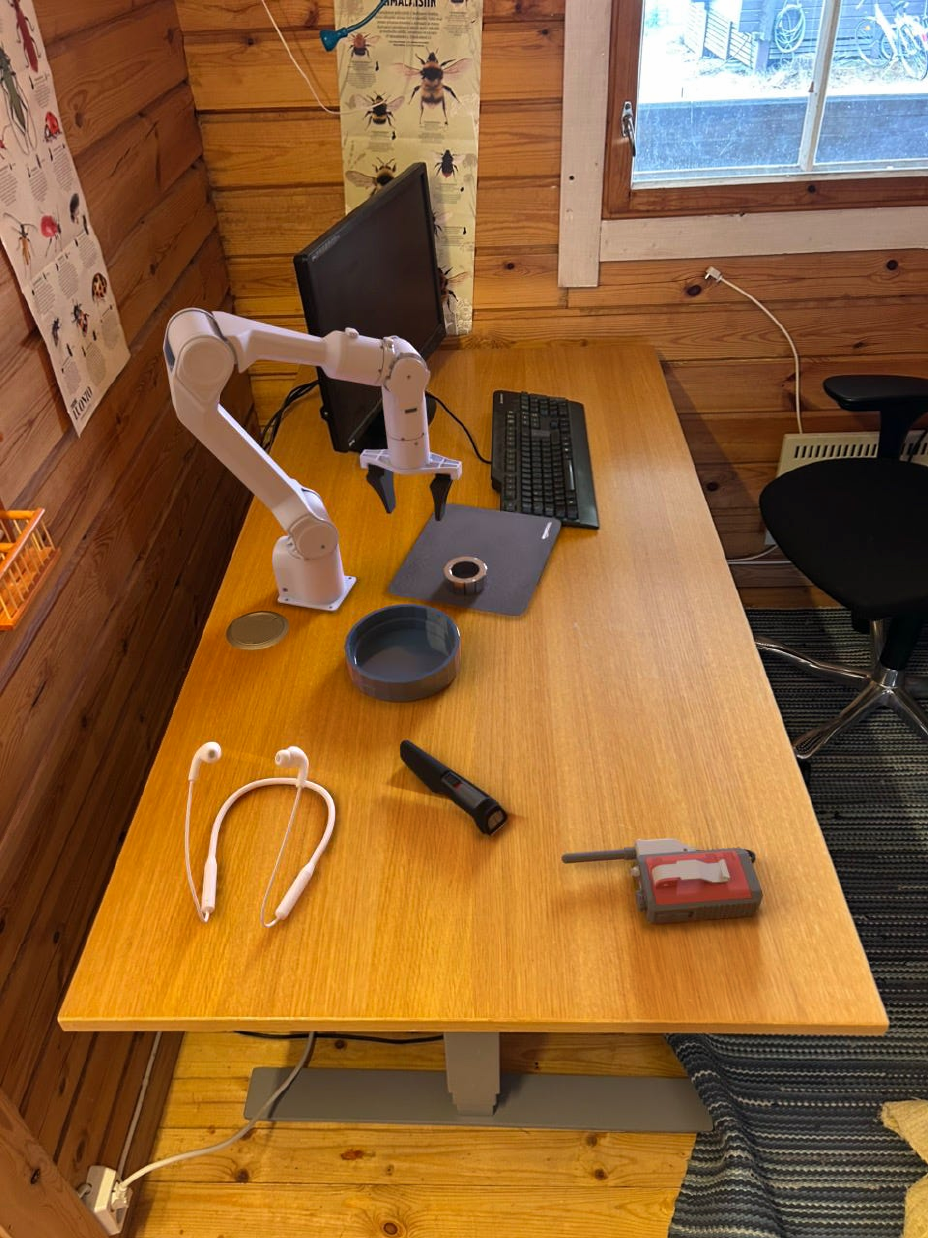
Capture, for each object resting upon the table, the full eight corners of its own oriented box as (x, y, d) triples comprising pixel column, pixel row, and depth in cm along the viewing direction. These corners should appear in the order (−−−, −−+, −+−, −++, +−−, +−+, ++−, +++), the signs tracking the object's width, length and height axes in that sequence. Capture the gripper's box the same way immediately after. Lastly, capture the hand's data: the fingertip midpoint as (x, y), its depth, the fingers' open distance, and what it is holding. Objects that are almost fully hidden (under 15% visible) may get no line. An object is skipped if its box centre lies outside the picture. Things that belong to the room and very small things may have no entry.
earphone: (158, 926, 84) (176, 740, 87) (223, 897, 100) (237, 741, 103) (293, 937, 82) (308, 747, 85) (336, 906, 99) (348, 748, 101)
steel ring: (439, 592, 126) (438, 579, 125) (452, 567, 131) (451, 553, 129) (479, 599, 125) (479, 585, 123) (491, 573, 129) (491, 559, 127)
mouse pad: (522, 619, 121) (522, 618, 121) (384, 594, 127) (384, 593, 127) (563, 520, 139) (563, 519, 139) (440, 502, 144) (440, 501, 144)
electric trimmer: (417, 747, 105) (414, 730, 103) (510, 819, 96) (509, 801, 94) (394, 765, 103) (391, 747, 101) (486, 840, 94) (485, 822, 92)
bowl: (330, 692, 112) (325, 670, 110) (374, 617, 123) (370, 596, 121) (440, 714, 109) (438, 692, 106) (475, 635, 119) (474, 614, 117)
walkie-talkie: (745, 842, 92) (559, 857, 92) (752, 818, 90) (560, 833, 89) (772, 917, 86) (572, 933, 86) (780, 893, 83) (574, 910, 83)
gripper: (466, 421, 118) (470, 505, 127) (368, 411, 122) (379, 492, 131) (450, 447, 113) (456, 532, 122) (349, 435, 117) (361, 518, 126)
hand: (415, 513), depth 126 cm, fingers open, 7 cm apart
